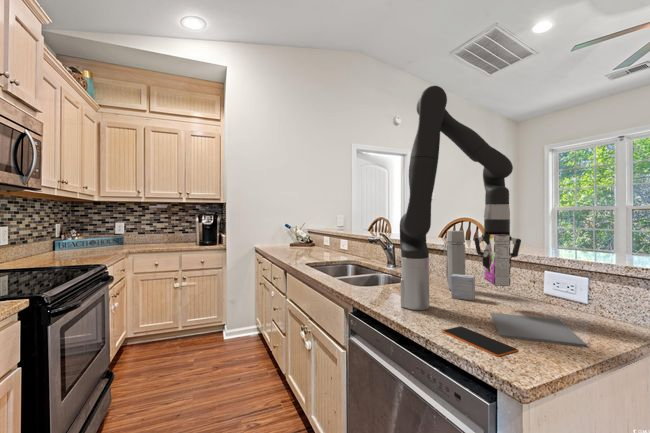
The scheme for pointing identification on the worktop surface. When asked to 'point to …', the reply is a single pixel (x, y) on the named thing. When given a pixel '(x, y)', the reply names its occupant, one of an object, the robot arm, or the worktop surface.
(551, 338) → the rubber mat
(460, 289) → the medicine box
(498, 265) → the candy bar box
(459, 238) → the water bottle
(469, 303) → the worktop surface
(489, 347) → the smartphone
